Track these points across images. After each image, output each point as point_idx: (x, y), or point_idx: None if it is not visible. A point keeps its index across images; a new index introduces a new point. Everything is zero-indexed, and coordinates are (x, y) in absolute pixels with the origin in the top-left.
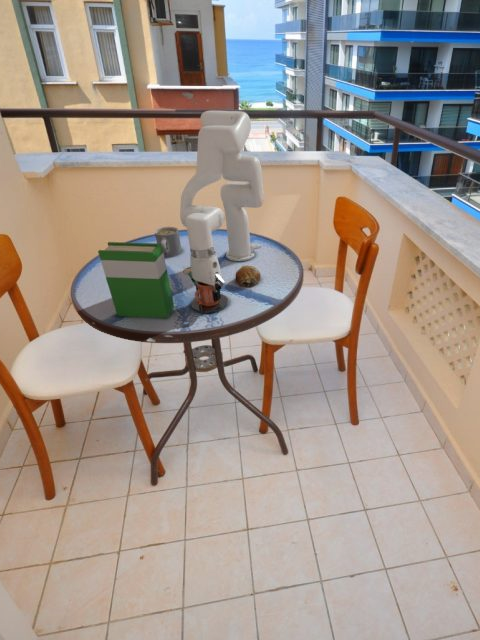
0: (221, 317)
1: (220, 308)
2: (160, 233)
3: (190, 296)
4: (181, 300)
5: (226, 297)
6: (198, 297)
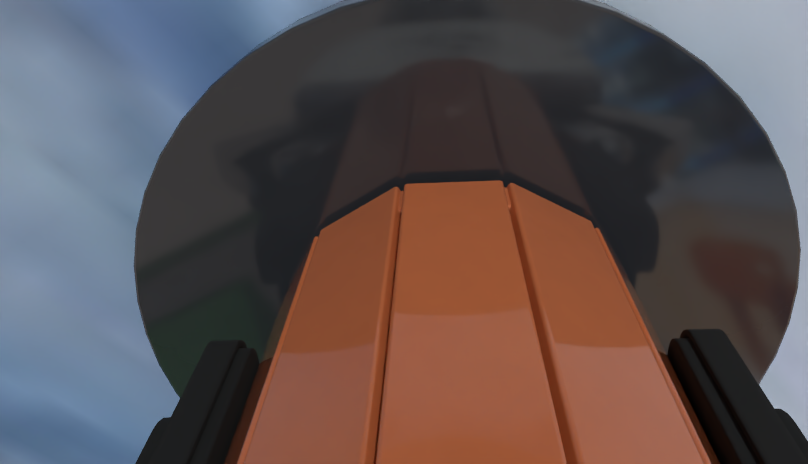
0: None
1: None
2: None
3: (6, 293)
4: (33, 418)
5: (663, 45)
6: (176, 318)
